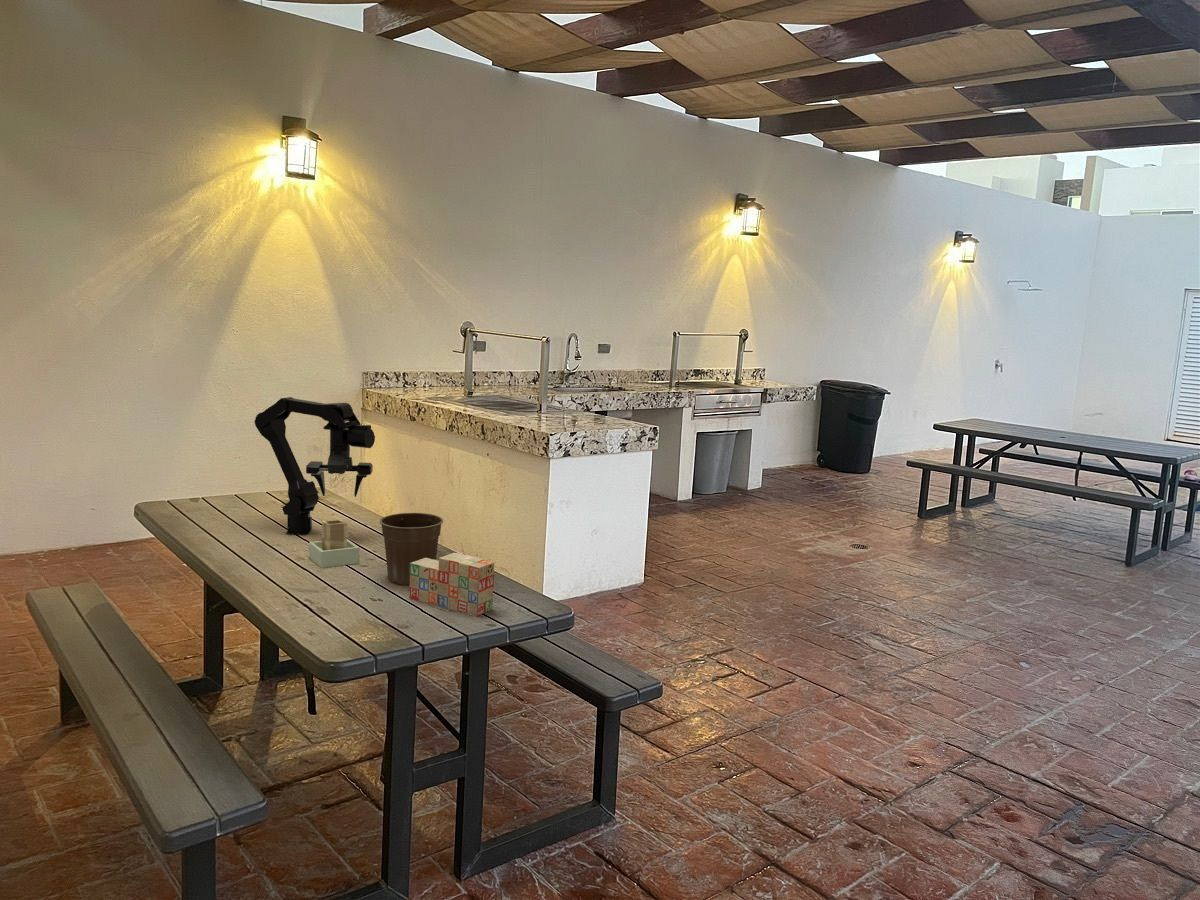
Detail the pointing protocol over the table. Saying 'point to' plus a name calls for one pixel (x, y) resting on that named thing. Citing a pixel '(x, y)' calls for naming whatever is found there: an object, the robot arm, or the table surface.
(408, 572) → the plant pot
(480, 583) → the stack of blocks
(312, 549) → the sage crate
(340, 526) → the pine crate
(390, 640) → the table surface
